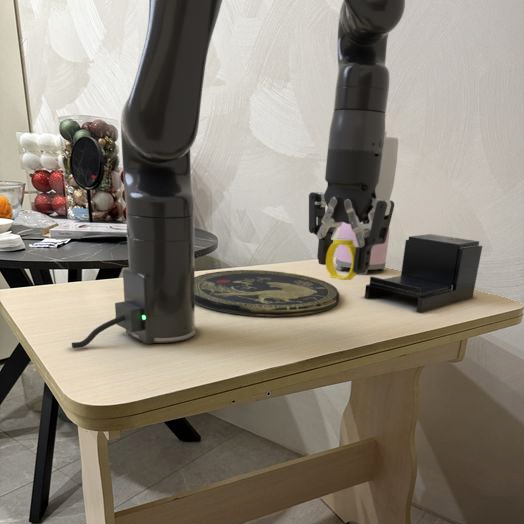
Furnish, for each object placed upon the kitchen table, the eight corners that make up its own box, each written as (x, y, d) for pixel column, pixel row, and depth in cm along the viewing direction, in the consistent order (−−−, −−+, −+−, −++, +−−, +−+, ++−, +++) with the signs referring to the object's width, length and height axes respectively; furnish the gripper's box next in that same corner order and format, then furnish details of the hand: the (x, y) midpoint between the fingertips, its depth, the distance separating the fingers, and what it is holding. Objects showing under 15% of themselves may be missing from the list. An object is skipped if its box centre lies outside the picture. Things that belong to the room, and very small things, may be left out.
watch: (361, 282, 77) (366, 242, 75) (347, 284, 75) (352, 242, 73) (333, 274, 81) (337, 235, 79) (320, 275, 80) (324, 236, 78)
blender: (370, 277, 122) (387, 129, 111) (325, 268, 129) (338, 128, 118) (398, 268, 134) (416, 134, 123) (356, 261, 141) (370, 133, 130)
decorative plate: (155, 278, 102) (270, 264, 121) (155, 288, 103) (270, 272, 121) (249, 318, 81) (372, 293, 99) (249, 329, 82) (371, 302, 100)
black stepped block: (420, 312, 95) (429, 249, 91) (364, 297, 103) (371, 239, 99) (472, 297, 107) (483, 241, 103) (419, 285, 116) (427, 233, 112)
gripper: (299, 145, 74) (289, 261, 80) (382, 148, 65) (364, 280, 70) (333, 148, 79) (322, 258, 85) (415, 151, 69) (396, 275, 75)
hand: (341, 267), depth 78 cm, fingers closed on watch, 6 cm apart
